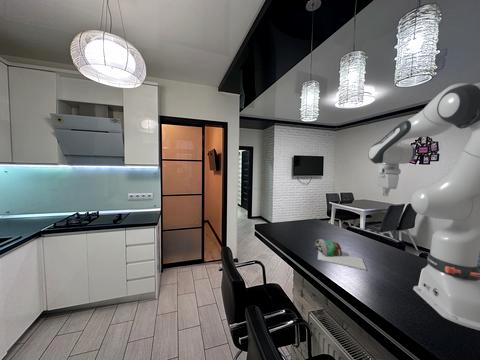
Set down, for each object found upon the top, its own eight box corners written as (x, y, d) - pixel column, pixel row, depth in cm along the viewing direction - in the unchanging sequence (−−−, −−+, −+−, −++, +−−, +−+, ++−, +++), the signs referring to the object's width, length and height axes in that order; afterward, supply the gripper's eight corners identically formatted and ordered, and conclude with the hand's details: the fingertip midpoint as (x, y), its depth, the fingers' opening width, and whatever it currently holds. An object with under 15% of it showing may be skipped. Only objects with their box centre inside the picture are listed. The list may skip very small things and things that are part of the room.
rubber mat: (366, 270, 84) (366, 269, 84) (317, 259, 92) (317, 258, 92) (361, 259, 95) (362, 258, 95) (318, 250, 103) (318, 250, 103)
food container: (344, 244, 95) (323, 243, 95) (343, 257, 95) (322, 255, 95) (332, 237, 107) (314, 236, 108) (331, 248, 107) (313, 246, 108)
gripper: (376, 170, 113) (373, 193, 114) (386, 169, 95) (383, 197, 96) (389, 170, 111) (386, 194, 112) (402, 170, 92) (399, 198, 93)
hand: (385, 195), depth 104 cm, fingers closed
